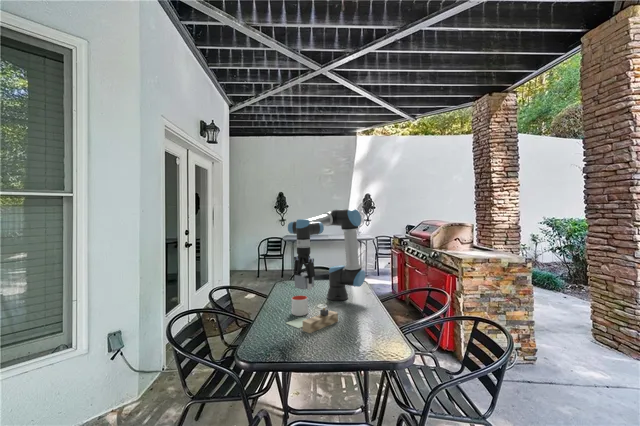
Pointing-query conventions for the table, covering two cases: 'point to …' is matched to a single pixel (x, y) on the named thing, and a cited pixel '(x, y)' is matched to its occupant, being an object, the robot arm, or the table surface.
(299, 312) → the cup
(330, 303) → the table surface
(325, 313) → the latch
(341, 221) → the robot arm
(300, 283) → the gray cube on plate
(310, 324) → the long wooden block
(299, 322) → the mat
